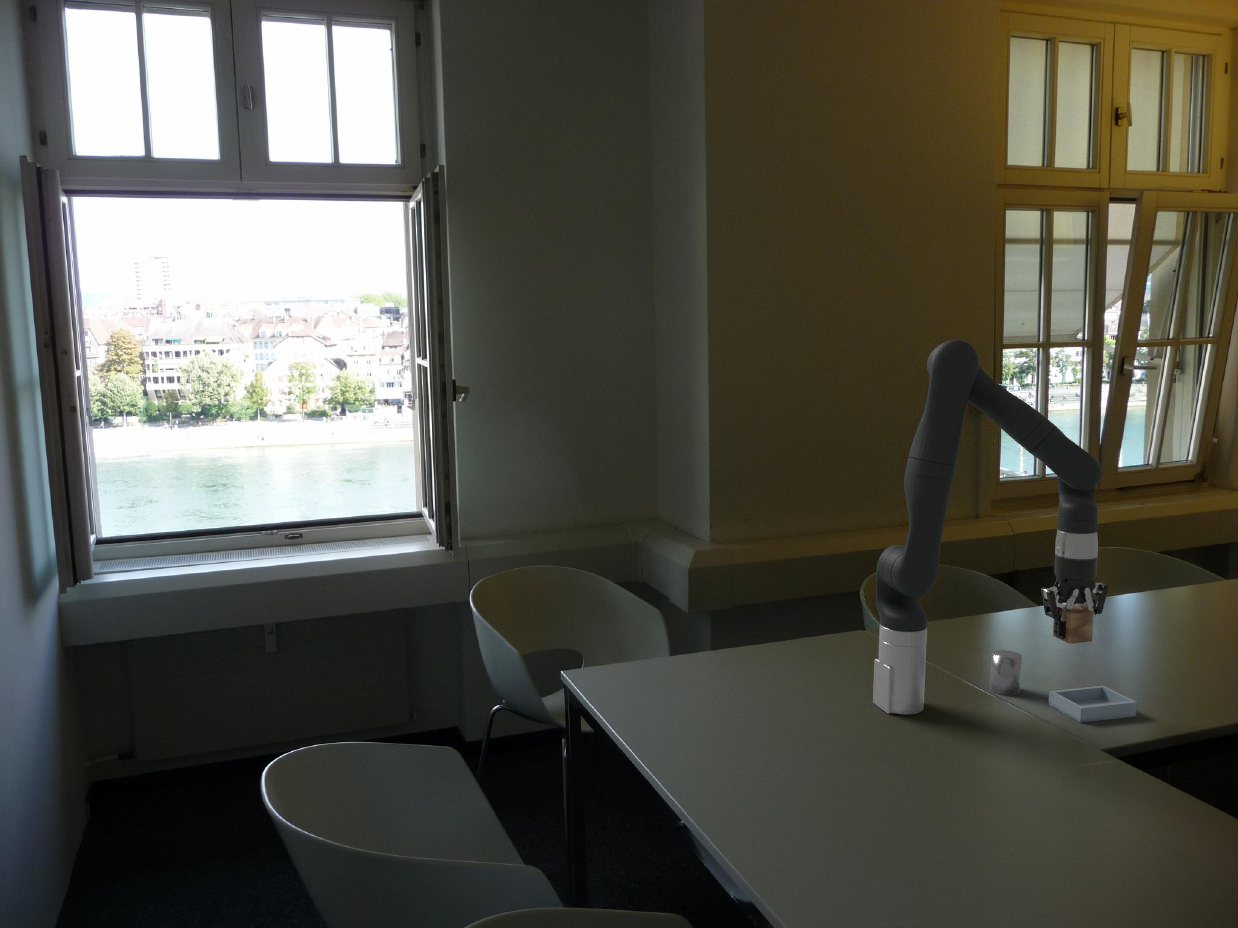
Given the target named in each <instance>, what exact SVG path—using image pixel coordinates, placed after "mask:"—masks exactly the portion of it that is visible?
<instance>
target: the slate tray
mask: <svg viewBox="0 0 1238 928" xmlns="http://www.w3.org/2000/svg"><path fill="white" fill-rule="evenodd" d="M1048 706H1049V707H1050V708H1053V709H1055V710H1056V711H1058V712H1059V713H1061V714H1063V715H1065V716H1067V717H1069V718H1071V719H1073V720H1074V721H1076V722H1077V723H1079V724H1082V723H1083V724H1084V723H1092V722H1093V723H1094V722H1100V721H1109V720H1115V719H1117V720H1118V719H1126V718H1134V717H1137V706H1138V701H1135V700H1134V699H1131V698H1129V697H1128V696H1126V695H1124V694H1121V693H1119V692H1117V691H1115V690H1113V689H1111V688H1109V687H1107V686H1105V685H1097V686H1096V685H1095V686H1088V687H1078V688H1068V689H1060V690H1059V689H1057V690H1049V691H1048Z"/></svg>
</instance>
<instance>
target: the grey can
mask: <svg viewBox="0 0 1238 928" xmlns="http://www.w3.org/2000/svg"><path fill="white" fill-rule="evenodd" d="M990 656H991V658H990V672H989V673H990V676H989V691H991V692H992V693H994V694H996V695H999V696H1005V697H1014V696H1015V697H1016V696H1017V695H1020V694H1021V681H1022V680H1021V679H1022V664H1023V663H1022V661H1023V659H1022V658H1023V656H1022V654H1020V653H1018V652H1016V651H1012V650H1007V649H995V650H993V651H991V655H990Z"/></svg>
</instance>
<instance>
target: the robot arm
mask: <svg viewBox="0 0 1238 928" xmlns="http://www.w3.org/2000/svg"><path fill="white" fill-rule="evenodd" d="M926 369H927V373H928V375H929V384H928V391H927V398H926V403H925V407H924V408H925V409H924V411H923V414H922V417H921V419H920V421H919V424H918V426H917V429H916V432H915V434H914V437H913V440H912V444H911V446H910V449H909V453H908V458H907V463H906V469H905V472H904V478H903V479H904V481H903V485H904V495H905V501H906V506H907V513H908V520H909V521H908V534H907V538H906V542H905V545H902V544H894V545H890V546H888V547H887V548H885V549H884V550H883V552H881V554H880V556H879V558H878V560H877V564H876V571H875V598H876V599H875V600H876V601H875V603H876V604H875V605H876V608H877V612H878V615H879V638H878V639H879V640H878V658H874V662H873V688H872V690H873V692H872V694H873V695H872V704H874V705H875V706H877V707H878V708H879V709H881V710H882V711H884V712H885V713H886V714H898V715H916V714H919V713H922V712H923V711H924V707H925V705H924V704H925V686H926V683H925V681H926V661H927V657H926V656H927V639H928V614H927V613H926V611H925V610H924V608H923V607H922V605H921V603H920V602H919V599H920V598H924V597H925V596H927V595H928V594H929V593H930V592H931V590H933V588H934V586H935V584H936V582H937V579H938V573H939V568H940V556H941V549H942V548H941V547H942V539H943V533H944V532H943V531H944V525H945V520H946V516H947V510H948V505H949V500H950V495H951V491H952V487H953V483H954V478H955V474H956V470H957V465H958V460H959V452H960V447H961V442H962V441H961V439H962V431H963V424H964V423H963V422H964V415H965V413H966V407H967V404H968V403H969V404H970V405H972V406H973V407H974V408H976V409H977V410H979V411H980V412H981V413H982V414H984V415H985V416H986V417H988V419H990V420H991V421H992V422H993V423H994V424H996V426H998V427H999V428H1000V429H1001V430H1002V431H1003V432H1004V433H1006V434H1007V436H1009V437H1010V438H1011V439H1012V440H1014V442H1016V443H1017V444H1018V445H1019V446H1021V447H1022V448H1023V449H1024V450H1026V451H1027V452H1028V453H1029V454H1031V455H1032V456H1033V457H1035V458H1036V459H1038V460H1039V461H1041V462H1042V463H1043V464H1044V465H1045V466H1046V467H1047V468H1048V469H1049V470H1050V471H1052V472H1053V473H1054V475H1056V476H1057V489H1058V500H1059V502H1058V513H1057V529H1056V530H1057V531H1056V536H1055V547H1054V569H1053V570H1054V571H1053V572H1054V573H1053V574H1054V575H1055V577H1056V578H1055V582H1054V584H1053V586H1051V587H1049V588H1047V587H1042V588H1041V589H1040V593H1041V599H1042V603H1043V609H1044V615H1045V616H1046V617H1048V618H1052V619H1053V621H1054V634H1055V635H1056V637H1057V638H1056V637H1055V638H1056V639H1058V638H1060V639H1065V637H1066V621H1065V620H1066V618H1067V612H1069V611H1071V610H1072V607H1073V605H1077V606H1079V607H1083V608H1085V609H1086V610H1090V611H1093V618H1094V617H1095V616H1096V615H1101V614H1102V613H1103V612H1104V611H1103V610H1104V606H1105V604H1106V603H1105V602H1106V599H1107V594H1108V590H1109V586H1108V585H1107V584H1104V583H1103V582H1098V581H1096V580H1095V579H1096V577H1097V575H1098V555H1099V554H1098V553H1099V552H1098V551H1099V541H1098V540H1099V539H1098V538H1099V537H1098V523H1099V521H1098V520H1099V519H1098V518H1099V513H1098V511H1099V510H1098V505H1097V503H1096V486H1098V485H1099V483H1100V482H1101V480H1102V476H1103V469H1102V466H1101V463H1100V461H1099V460H1098V459H1097V458H1096V457H1094V456H1093V455H1092V454H1090V453H1089V452H1087V451H1086V450H1085V449H1084V448H1082V447H1081V446H1080V445H1078V444H1077V443H1075V442H1074V441H1073V440H1072V439H1070V438H1068V437H1067V435H1065V434H1064V432H1063V431H1062V430H1061V429H1060V427H1057V425H1055V424H1054V423H1053V422H1052V421H1050V420H1049V419H1048V418H1047V417H1046V416H1044V415H1043V414H1042V413H1041V412H1039V410H1037V409H1036V408H1034V407H1033V406H1031V405H1030V404H1028V403H1027V402H1025V401H1024V400H1022V399H1021V398H1019V397H1018V396H1016V395H1014V394H1013V393H1011V392H1010V391H1008V390H1007V389H1006V388H1004V387H1003V386H1002V385H1000V384H999V383H997V382H996V381H995V380H994V379H993V377H992V378H991V376H990V375H989V374H987V372H986V371H985V370H984V369H983V368H982V367H981V366H980V357H979V354H978V352H977V351H976V348H974V346H972V344H970V343H969V342H968V341H965V340H963V339H949V340H946V341H944V342H942V343H940V344H939V345H938V346H936V347H935V348H934V349H933V350H932V351H931V352H930V353H929V356H928V358H927V360H926ZM1064 603H1065V604H1064ZM1061 609H1062V612H1061V614H1060V610H1061ZM1060 639H1059V640H1060Z"/></svg>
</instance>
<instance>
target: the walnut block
mask: <svg viewBox="0 0 1238 928" xmlns="http://www.w3.org/2000/svg"><path fill="white" fill-rule="evenodd" d="M1061 612H1062V609H1061V610H1060V614H1061ZM1065 621H1066V637H1065V639H1060V638H1057V637H1056V635H1055V634H1054V620H1053V623H1052V624H1053V625H1052V626H1053V627H1052V628H1053V629H1052V637H1054V638H1055V639H1059V640H1060V641H1062V642H1065V643H1067V644H1070V645H1073V644H1080V643H1088V642H1090V643H1091V642H1093V634H1094V633H1093V628H1094V617H1093V611H1090V610H1086V609H1085V608H1083V607H1079V606H1078V605H1077V604H1075V605H1073V607H1072V610H1071V611H1069V612H1067V618H1066V620H1065Z"/></svg>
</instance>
